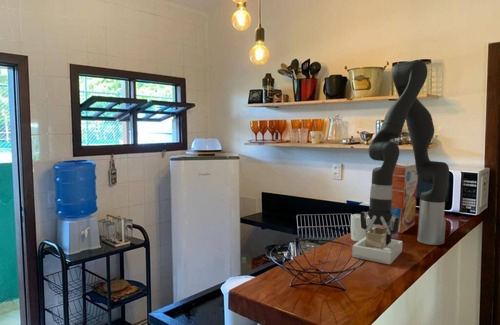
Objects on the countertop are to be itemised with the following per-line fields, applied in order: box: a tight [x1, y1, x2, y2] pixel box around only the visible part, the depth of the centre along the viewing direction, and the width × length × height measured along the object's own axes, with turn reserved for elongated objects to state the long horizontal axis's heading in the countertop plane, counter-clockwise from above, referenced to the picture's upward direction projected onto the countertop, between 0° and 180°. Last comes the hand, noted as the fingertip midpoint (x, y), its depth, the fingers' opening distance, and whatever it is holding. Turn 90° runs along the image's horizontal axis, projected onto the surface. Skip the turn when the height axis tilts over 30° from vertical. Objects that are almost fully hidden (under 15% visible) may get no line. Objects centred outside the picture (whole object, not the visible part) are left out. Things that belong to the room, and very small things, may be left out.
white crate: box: [351, 237, 403, 265], centre depth 142 cm, size 18×13×4 cm
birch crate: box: [365, 227, 387, 250], centre depth 141 cm, size 11×6×5 cm, turn 147°
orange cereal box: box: [382, 162, 419, 234], centre depth 184 cm, size 23×8×30 cm, turn 144°
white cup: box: [350, 213, 371, 243], centre depth 160 cm, size 8×8×10 cm
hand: (378, 242), depth 142 cm, fingers closed on birch crate, 6 cm apart
